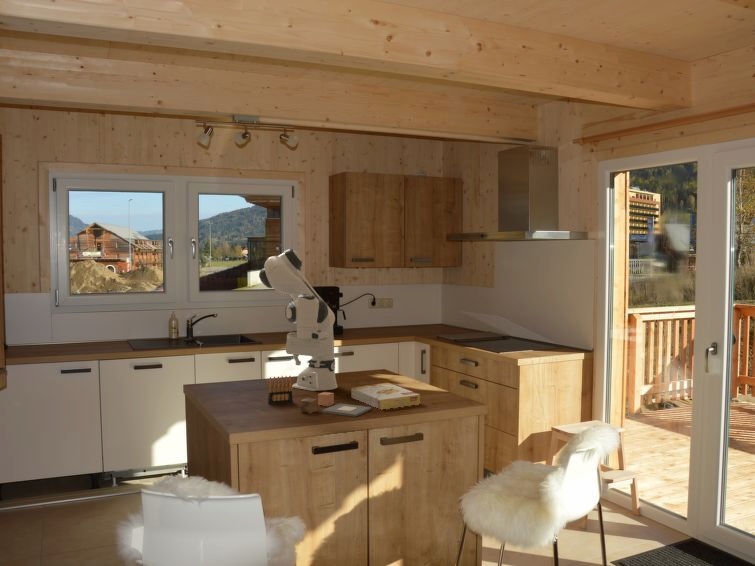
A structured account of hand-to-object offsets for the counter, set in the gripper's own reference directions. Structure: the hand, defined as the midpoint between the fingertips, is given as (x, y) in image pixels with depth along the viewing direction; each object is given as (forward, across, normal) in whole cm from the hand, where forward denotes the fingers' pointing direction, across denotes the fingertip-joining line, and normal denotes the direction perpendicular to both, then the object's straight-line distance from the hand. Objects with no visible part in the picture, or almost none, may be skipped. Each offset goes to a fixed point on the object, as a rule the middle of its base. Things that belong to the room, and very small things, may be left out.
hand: (307, 366), depth 285 cm
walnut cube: (+19, 0, 0) cm, 19 cm away
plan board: (+19, +14, +8) cm, 25 cm away
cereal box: (+20, +20, +32) cm, 43 cm away
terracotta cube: (+19, 0, +14) cm, 24 cm away
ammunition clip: (+20, -20, +8) cm, 29 cm away
